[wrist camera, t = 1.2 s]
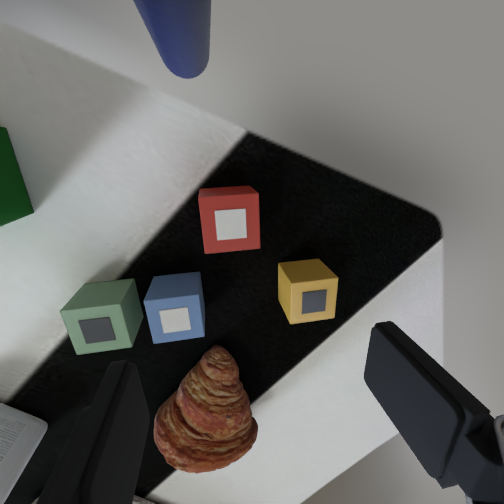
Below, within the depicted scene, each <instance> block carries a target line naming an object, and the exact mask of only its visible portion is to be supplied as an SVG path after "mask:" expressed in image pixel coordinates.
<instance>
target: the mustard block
mask: <svg viewBox="0 0 504 504" xmlns="http://www.w3.org/2000/svg"><path fill="white" fill-rule="evenodd" d="M337 286H338V277H337V276H336V275H335V274H334V273H333V272H332V271H331V270H330V269H329V268H328V267H327V266H326V265H325V264H324V263H323V262H322V261H321V260H319V259H310V260H301V261H292V262H283V263H278V300H279V302H280V304H281V306H282V308H283V310H284V312H285V314H286V316H287V318H288V320H289V322H290V324H296V323H303V322H310V321H317V320H324V319H331V318H334V316H335V306H336V296H337Z"/></svg>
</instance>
